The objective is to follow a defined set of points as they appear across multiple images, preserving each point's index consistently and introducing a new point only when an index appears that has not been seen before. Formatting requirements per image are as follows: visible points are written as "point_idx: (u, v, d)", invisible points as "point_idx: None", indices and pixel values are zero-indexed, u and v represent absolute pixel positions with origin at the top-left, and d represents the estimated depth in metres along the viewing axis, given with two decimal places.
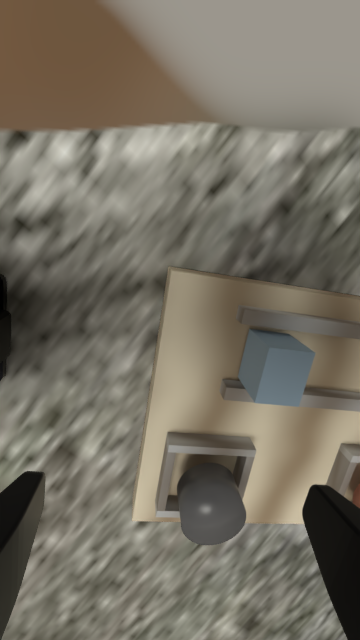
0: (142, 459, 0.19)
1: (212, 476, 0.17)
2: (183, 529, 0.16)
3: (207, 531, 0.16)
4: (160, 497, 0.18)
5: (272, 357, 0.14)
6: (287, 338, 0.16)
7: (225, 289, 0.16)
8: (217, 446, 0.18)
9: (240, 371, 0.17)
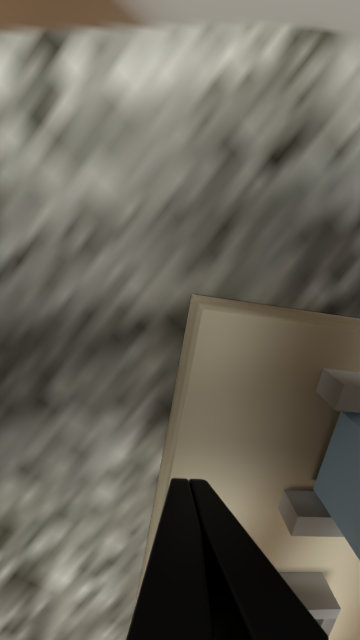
0: None
1: None
2: None
3: None
4: None
5: None
6: None
7: (301, 342, 0.09)
8: None
9: (320, 483, 0.10)
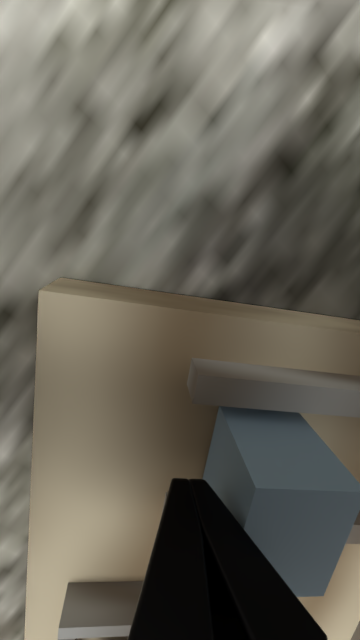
0: (27, 626, 0.10)
1: None
2: None
3: None
4: None
5: (262, 508, 0.06)
6: (297, 432, 0.08)
7: (162, 328, 0.08)
8: None
9: None
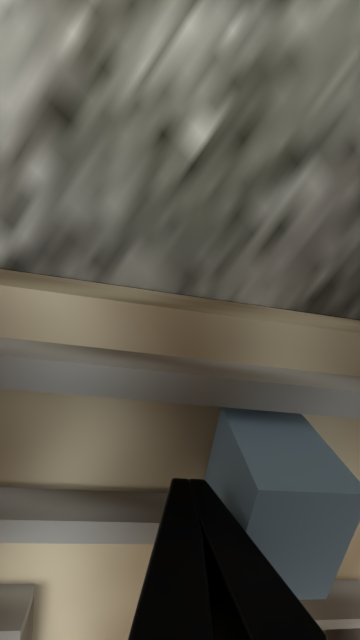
0: None
1: None
2: None
3: None
4: None
5: (265, 510, 0.06)
6: (299, 433, 0.08)
7: None
8: None
9: None
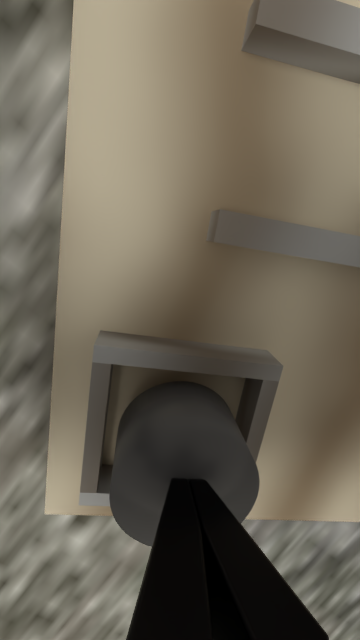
0: (53, 390, 0.09)
1: (185, 401, 0.08)
2: (116, 514, 0.07)
3: None
4: (85, 464, 0.09)
5: None
6: None
7: None
8: (201, 355, 0.08)
9: None
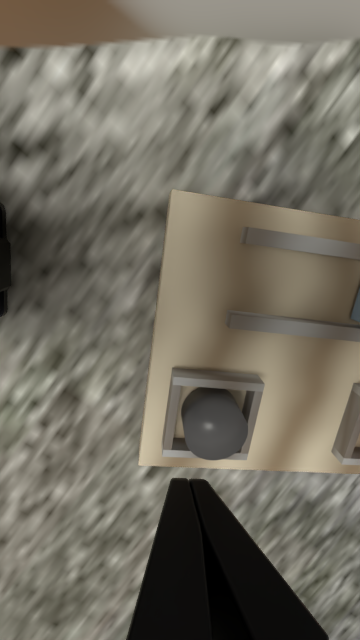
0: (147, 398, 0.18)
1: (214, 394, 0.17)
2: (187, 442, 0.17)
3: (210, 445, 0.17)
4: (166, 434, 0.18)
5: None
6: None
7: (228, 210, 0.16)
8: (224, 380, 0.17)
9: (355, 312, 0.17)
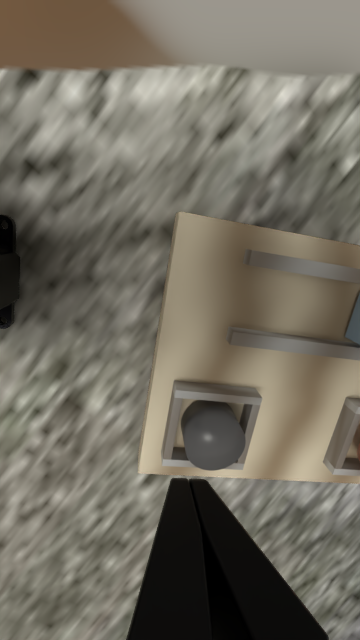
0: (149, 408, 0.19)
1: (214, 407, 0.18)
2: (187, 453, 0.17)
3: (209, 456, 0.18)
4: (166, 445, 0.18)
5: None
6: None
7: (232, 232, 0.16)
8: (223, 393, 0.18)
9: (349, 331, 0.18)
